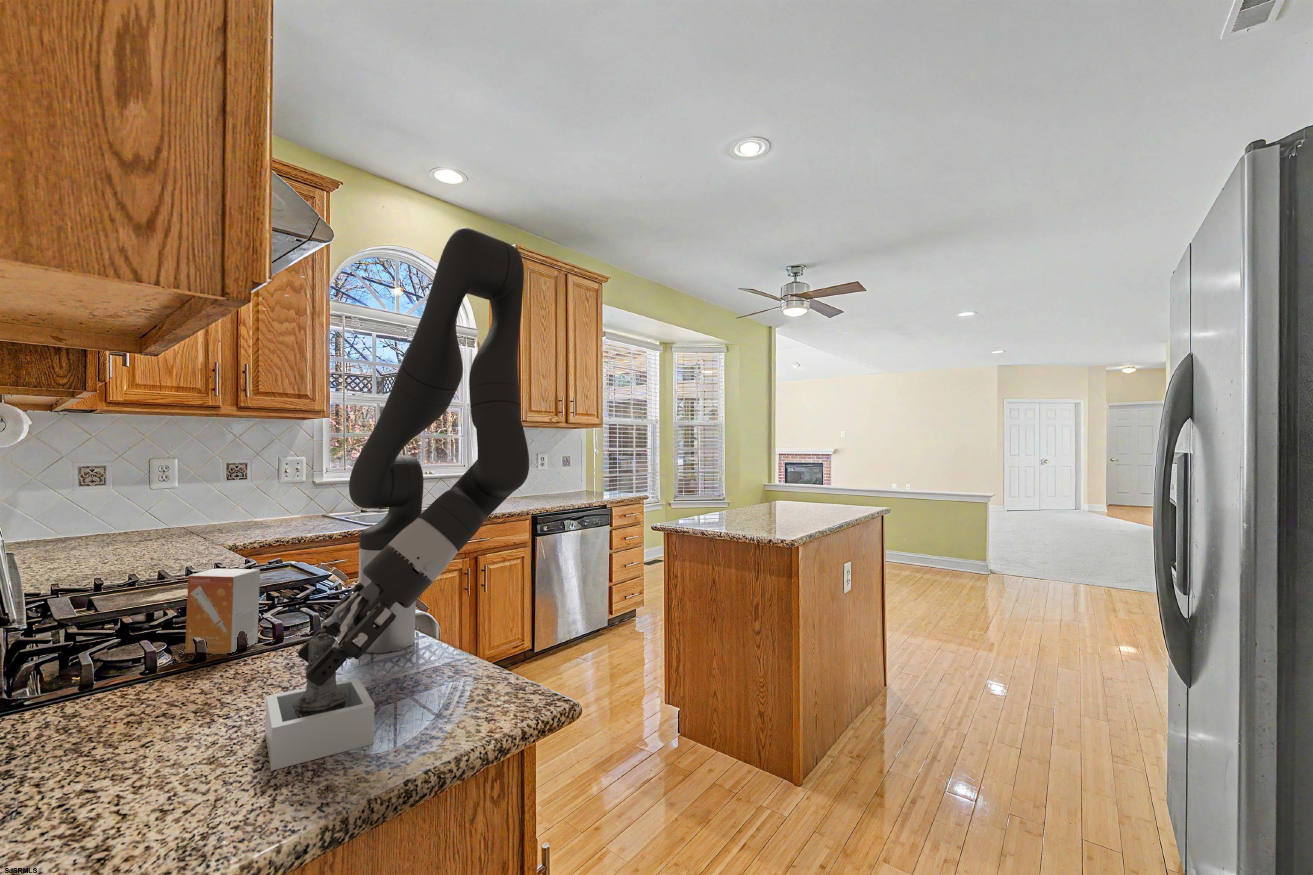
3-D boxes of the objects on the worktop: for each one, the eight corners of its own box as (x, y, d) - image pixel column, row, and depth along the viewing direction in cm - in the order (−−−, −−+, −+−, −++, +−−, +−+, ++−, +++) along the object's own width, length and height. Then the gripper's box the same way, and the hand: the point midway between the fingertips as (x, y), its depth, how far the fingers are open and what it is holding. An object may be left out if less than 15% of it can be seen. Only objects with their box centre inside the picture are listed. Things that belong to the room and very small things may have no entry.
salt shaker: (322, 744, 66) (325, 636, 66) (278, 738, 67) (281, 632, 67) (359, 720, 72) (361, 622, 72) (317, 715, 73) (320, 618, 73)
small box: (183, 654, 97) (186, 575, 97) (214, 641, 103) (216, 567, 103) (231, 655, 96) (233, 576, 97) (259, 642, 103) (261, 568, 103)
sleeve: (265, 733, 70) (266, 695, 70) (357, 712, 76) (358, 677, 76) (270, 770, 62) (272, 728, 62) (373, 743, 68) (374, 704, 68)
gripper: (378, 535, 80) (276, 635, 73) (405, 550, 68) (286, 670, 61) (418, 570, 83) (323, 669, 76) (449, 590, 71) (342, 708, 64)
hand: (307, 669), depth 68 cm, fingers open, 8 cm apart
